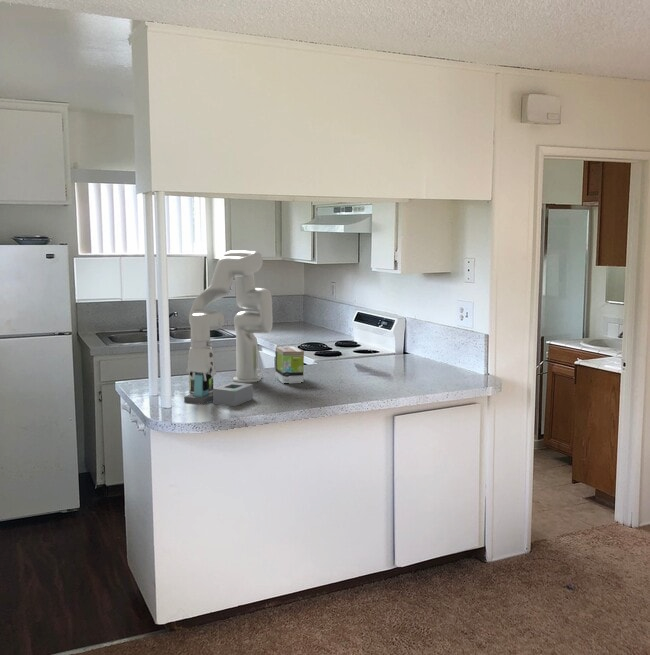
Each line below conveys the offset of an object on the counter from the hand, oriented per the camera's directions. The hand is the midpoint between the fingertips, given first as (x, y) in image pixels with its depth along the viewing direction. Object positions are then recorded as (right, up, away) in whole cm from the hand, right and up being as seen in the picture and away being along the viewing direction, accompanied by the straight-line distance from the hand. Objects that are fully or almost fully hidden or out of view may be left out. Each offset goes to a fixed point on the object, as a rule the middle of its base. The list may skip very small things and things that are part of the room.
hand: (201, 389), depth 284 cm
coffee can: (-3, -3, +16) cm, 17 cm away
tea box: (+33, 0, +41) cm, 53 cm away
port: (+13, -5, 0) cm, 14 cm away
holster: (0, -5, 0) cm, 5 cm away
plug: (0, -3, 0) cm, 3 cm away
